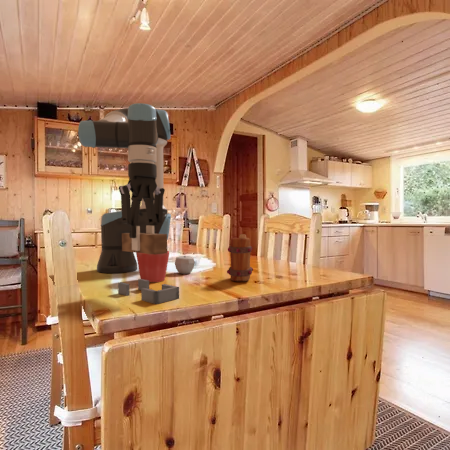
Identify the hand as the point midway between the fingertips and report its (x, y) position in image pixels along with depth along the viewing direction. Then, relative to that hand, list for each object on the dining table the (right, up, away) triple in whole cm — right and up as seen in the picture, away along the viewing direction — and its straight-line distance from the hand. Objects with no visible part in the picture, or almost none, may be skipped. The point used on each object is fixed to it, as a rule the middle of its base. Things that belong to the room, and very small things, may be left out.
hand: (143, 249), depth 91 cm
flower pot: (-2, -12, +20) cm, 24 cm away
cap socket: (+6, -13, -5) cm, 15 cm away
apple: (+7, -12, +34) cm, 36 cm away
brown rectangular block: (0, -1, 0) cm, 1 cm away
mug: (+28, -12, +22) cm, 38 cm away
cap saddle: (-3, -12, +3) cm, 13 cm away
